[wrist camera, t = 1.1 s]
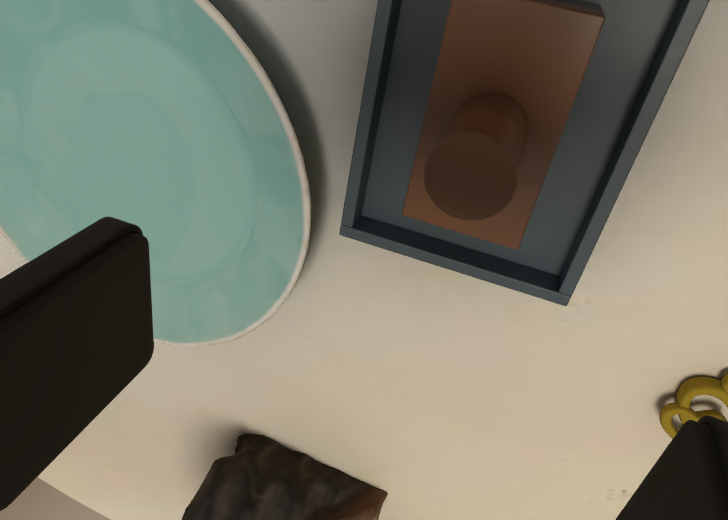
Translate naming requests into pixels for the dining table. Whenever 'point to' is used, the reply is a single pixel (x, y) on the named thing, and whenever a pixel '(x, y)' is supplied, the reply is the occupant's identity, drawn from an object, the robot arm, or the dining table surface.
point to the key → (688, 390)
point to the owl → (280, 487)
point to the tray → (570, 161)
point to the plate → (154, 154)
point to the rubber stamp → (498, 112)
